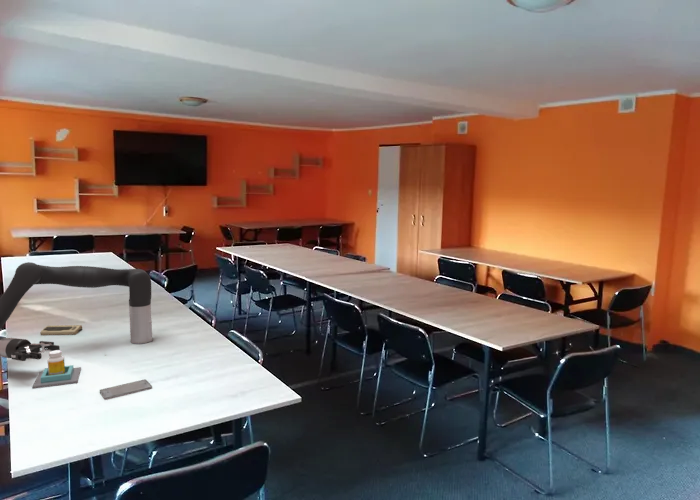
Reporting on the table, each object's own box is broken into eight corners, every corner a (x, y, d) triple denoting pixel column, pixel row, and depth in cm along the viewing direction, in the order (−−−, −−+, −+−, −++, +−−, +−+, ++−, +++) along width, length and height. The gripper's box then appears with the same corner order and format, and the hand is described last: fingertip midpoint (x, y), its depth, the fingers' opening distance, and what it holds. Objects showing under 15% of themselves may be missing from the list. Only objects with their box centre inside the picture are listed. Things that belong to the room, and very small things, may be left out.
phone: (99, 393, 173) (99, 389, 173) (146, 382, 183) (145, 378, 183) (104, 401, 167) (104, 398, 167) (153, 389, 177) (152, 386, 177)
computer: (40, 336, 231) (39, 329, 230) (48, 331, 239) (48, 324, 238) (75, 336, 233) (74, 329, 232) (82, 330, 240) (82, 324, 240)
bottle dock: (81, 369, 193) (80, 362, 192) (77, 382, 180) (76, 375, 180) (39, 373, 187) (39, 366, 187) (32, 388, 175) (31, 381, 174)
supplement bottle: (46, 376, 183) (44, 351, 182) (62, 372, 187) (60, 348, 186) (51, 380, 180) (49, 355, 178) (67, 376, 184) (65, 351, 182)
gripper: (-5, 344, 178) (33, 349, 175) (28, 333, 192) (64, 336, 189) (-3, 364, 179) (34, 369, 176) (29, 351, 193) (65, 355, 190)
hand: (50, 352), depth 183 cm, fingers open, 8 cm apart
